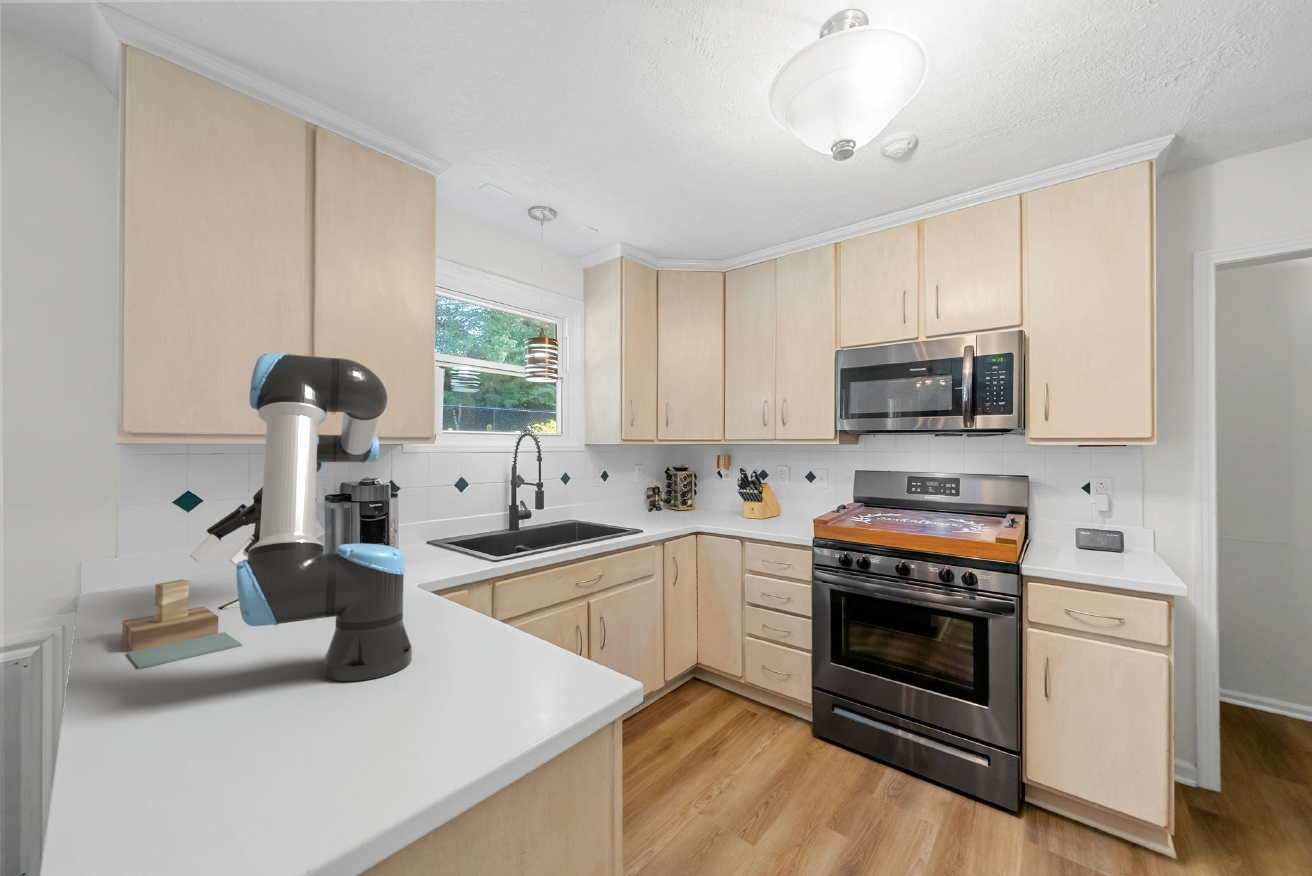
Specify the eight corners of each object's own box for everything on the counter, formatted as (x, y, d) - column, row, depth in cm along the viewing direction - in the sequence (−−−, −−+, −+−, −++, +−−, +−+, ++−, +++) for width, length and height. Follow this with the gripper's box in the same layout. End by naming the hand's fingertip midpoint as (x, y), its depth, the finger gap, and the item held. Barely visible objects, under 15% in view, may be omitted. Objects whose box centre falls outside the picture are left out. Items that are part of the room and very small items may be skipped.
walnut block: (217, 633, 122) (218, 616, 122) (132, 651, 111) (133, 632, 111) (203, 623, 129) (203, 606, 130) (122, 638, 118) (122, 620, 119)
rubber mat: (241, 645, 115) (241, 643, 115) (138, 669, 102) (138, 666, 102) (224, 633, 122) (224, 631, 122) (126, 654, 110) (126, 652, 110)
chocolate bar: (291, 588, 160) (256, 606, 142) (291, 592, 160) (256, 609, 142) (258, 589, 159) (218, 607, 141) (258, 593, 159) (218, 611, 141)
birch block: (187, 615, 122) (188, 580, 123) (161, 622, 118) (163, 585, 118) (180, 614, 123) (181, 579, 123) (154, 621, 118) (155, 584, 119)
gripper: (321, 504, 142) (262, 574, 128) (253, 501, 150) (190, 566, 136) (302, 485, 137) (239, 555, 123) (233, 483, 145) (166, 548, 131)
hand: (214, 561), depth 129 cm, fingers open, 13 cm apart
